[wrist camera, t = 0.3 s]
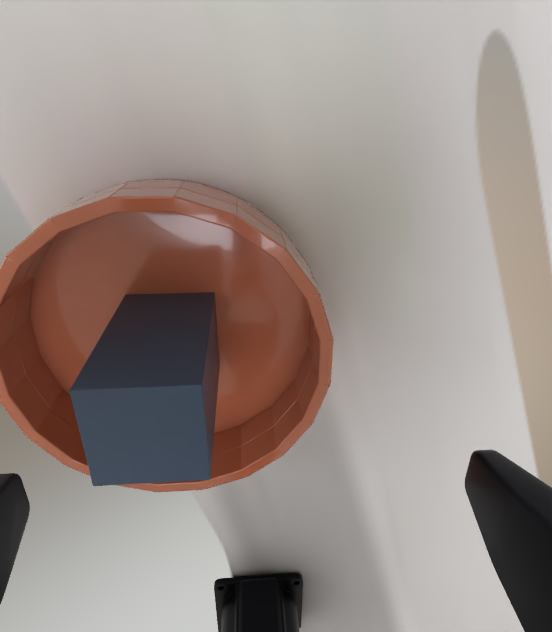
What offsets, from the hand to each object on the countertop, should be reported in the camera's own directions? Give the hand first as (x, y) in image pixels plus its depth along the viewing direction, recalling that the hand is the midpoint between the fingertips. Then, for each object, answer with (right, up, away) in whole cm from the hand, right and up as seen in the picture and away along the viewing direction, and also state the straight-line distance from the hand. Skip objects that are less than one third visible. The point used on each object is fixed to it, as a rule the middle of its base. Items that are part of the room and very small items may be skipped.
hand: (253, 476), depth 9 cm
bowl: (-5, +3, +15) cm, 16 cm away
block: (-5, +2, +14) cm, 15 cm away
